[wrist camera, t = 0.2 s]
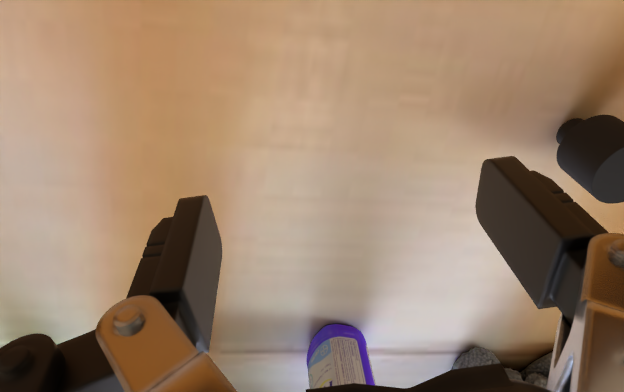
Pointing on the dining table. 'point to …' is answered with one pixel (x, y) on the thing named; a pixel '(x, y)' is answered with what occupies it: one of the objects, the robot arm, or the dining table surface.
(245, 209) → the dining table surface
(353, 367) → the bottle
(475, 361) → the koala plush
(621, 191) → the cylinder
